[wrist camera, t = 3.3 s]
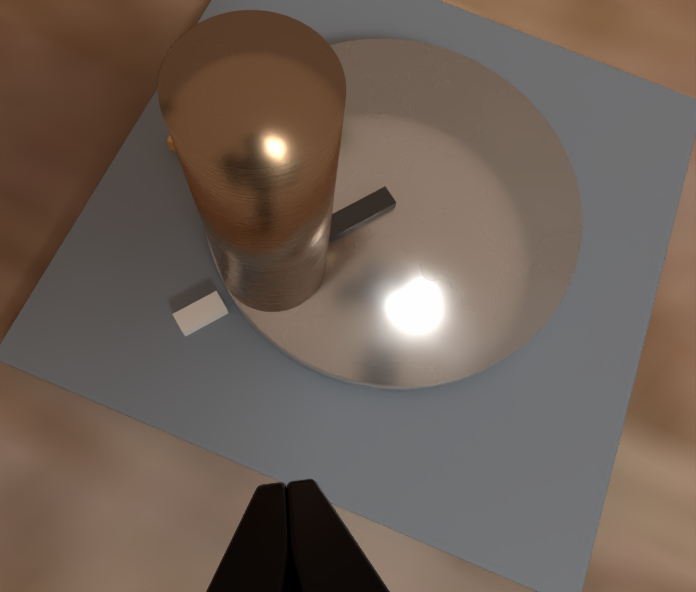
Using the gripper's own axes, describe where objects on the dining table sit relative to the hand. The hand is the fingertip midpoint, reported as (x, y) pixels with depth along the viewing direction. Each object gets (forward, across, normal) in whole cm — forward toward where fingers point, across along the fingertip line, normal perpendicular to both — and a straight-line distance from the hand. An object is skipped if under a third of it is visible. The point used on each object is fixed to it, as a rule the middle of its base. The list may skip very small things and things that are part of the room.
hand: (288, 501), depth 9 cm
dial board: (+15, -4, +2) cm, 15 cm away
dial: (+14, -4, +1) cm, 14 cm away
